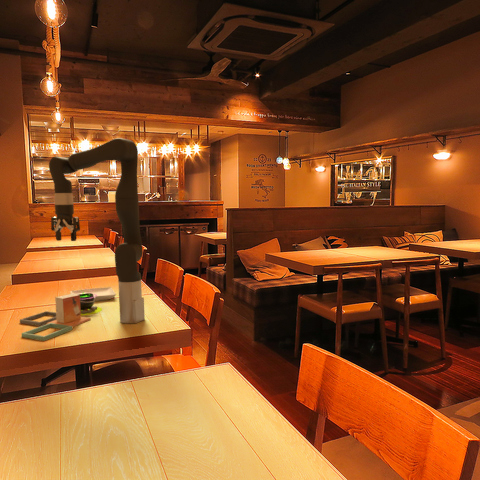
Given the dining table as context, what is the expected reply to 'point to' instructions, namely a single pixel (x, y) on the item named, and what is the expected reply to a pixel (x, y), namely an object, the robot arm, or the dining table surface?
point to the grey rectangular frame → (27, 319)
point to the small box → (68, 308)
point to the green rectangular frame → (63, 329)
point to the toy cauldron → (88, 304)
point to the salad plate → (98, 293)
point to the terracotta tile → (72, 322)
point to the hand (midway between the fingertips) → (66, 240)
